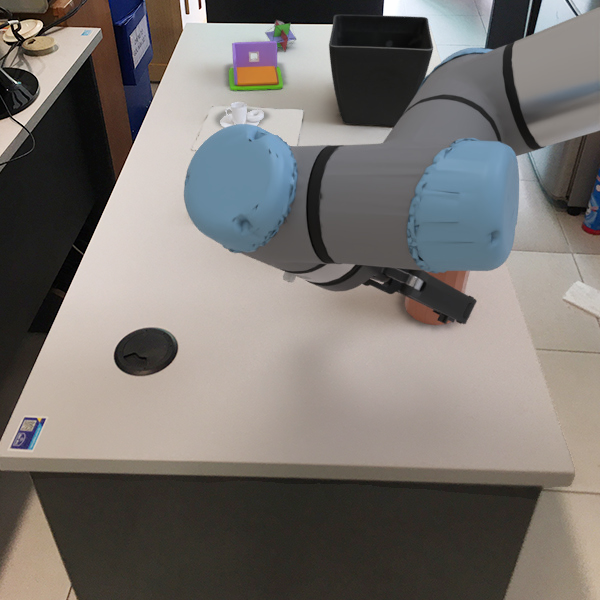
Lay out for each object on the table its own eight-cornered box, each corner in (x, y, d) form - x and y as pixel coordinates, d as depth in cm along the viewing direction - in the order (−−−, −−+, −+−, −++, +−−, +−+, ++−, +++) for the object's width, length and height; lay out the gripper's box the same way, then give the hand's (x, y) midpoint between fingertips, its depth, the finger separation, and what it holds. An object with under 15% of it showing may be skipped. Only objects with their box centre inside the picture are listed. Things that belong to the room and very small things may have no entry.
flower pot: (331, 91, 139) (334, 11, 128) (417, 95, 138) (427, 15, 127) (325, 131, 125) (328, 45, 114) (421, 136, 124) (433, 49, 113)
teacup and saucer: (266, 116, 130) (265, 97, 127) (260, 134, 124) (259, 114, 121) (224, 114, 131) (222, 95, 128) (216, 131, 125) (215, 112, 122)
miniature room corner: (228, 70, 148) (226, 40, 143) (279, 68, 149) (279, 38, 144) (229, 91, 139) (227, 60, 134) (283, 89, 140) (283, 58, 135)
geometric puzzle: (303, 44, 154) (294, 11, 153) (278, 49, 152) (268, 15, 151) (292, 54, 161) (283, 23, 160) (268, 59, 159) (258, 27, 157)
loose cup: (466, 327, 84) (484, 256, 76) (412, 333, 83) (424, 261, 75) (448, 291, 89) (463, 221, 81) (397, 296, 89) (408, 226, 81)
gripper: (195, 227, 57) (296, 272, 76) (443, 347, 45) (490, 365, 64) (229, 151, 56) (323, 215, 75) (489, 253, 45) (522, 299, 64)
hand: (400, 284), depth 70 cm, fingers open, 13 cm apart
